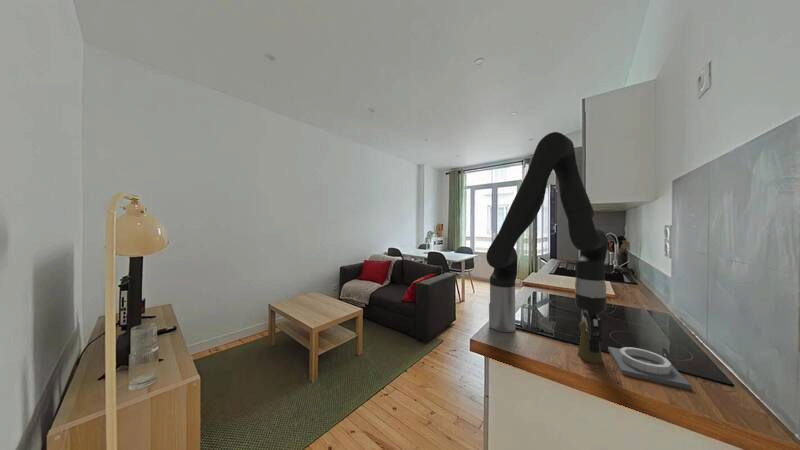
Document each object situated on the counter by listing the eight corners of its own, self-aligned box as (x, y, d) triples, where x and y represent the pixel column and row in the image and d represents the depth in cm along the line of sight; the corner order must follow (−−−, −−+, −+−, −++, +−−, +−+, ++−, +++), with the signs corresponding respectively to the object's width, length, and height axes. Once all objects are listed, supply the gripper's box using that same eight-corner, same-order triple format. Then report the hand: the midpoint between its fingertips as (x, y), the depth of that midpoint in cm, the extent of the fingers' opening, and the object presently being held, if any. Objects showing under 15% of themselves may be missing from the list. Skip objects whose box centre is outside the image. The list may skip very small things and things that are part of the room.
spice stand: (621, 374, 66) (621, 362, 66) (608, 350, 78) (608, 340, 78) (691, 390, 59) (691, 377, 59) (664, 361, 72) (664, 350, 72)
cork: (607, 364, 70) (607, 327, 70) (584, 362, 72) (584, 325, 71) (595, 353, 76) (595, 318, 76) (573, 351, 78) (573, 317, 77)
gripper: (572, 286, 82) (572, 333, 82) (578, 297, 69) (579, 353, 69) (600, 288, 78) (601, 338, 78) (612, 301, 66) (613, 360, 66)
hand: (591, 345), depth 74 cm, fingers open, 8 cm apart
